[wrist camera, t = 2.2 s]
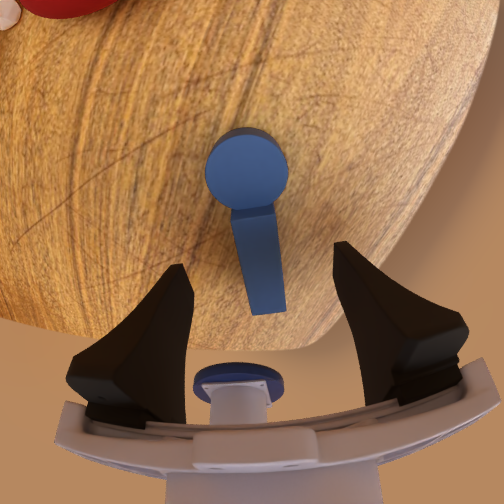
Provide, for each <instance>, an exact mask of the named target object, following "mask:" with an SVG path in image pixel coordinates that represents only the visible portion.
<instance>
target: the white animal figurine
mask: <svg viewBox="0 0 504 504" xmlns="http://www.w3.org/2000/svg"><path fill="white" fill-rule="evenodd" d="M20 14H21V9H20V7H19V5H18V4H17V2H15V0H0V30H3V31H4V30H6V29H8V28H11V27H12V26H13V25H14V24H16V23H17V22H18V20H19V18H20Z"/></svg>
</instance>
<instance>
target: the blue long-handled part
mask: <svg viewBox="0 0 504 504" xmlns="http://www.w3.org/2000/svg"><path fill="white" fill-rule="evenodd" d="M205 179H206V183H207V186H208V188H209V190H210V192H211V193H212V195H213V196H214V197H215V198H216V199H217V200H218V201H219V202H220V203H222V204H223V205H225V206H227V207H229V208H232V209H231V219H230V222H231V226H232V231H233V235H234V240H235V244H236V248H237V253H238V257H239V261H240V266H241V270H242V274H243V279H244V283H245V287H246V291H247V296H248V300H249V304H250V308H251V312H252V315H253V316H254V315H263V314H271V313H279V312H286V300H285V291H284V281H283V272H282V263H281V254H280V245H279V236H278V228H277V220H276V213H275V208H274V203H273V202H274V201H275V200H276V199H277V198H278V197H279V196H280V195H281V193H282V192H283V190H284V188H285V186H286V183H287V179H288V166H287V162H286V159H285V157H284V155H283V153H282V151H281V149H280V147H279V145H278V143H277V142H276V141H275V140H274V138H273V137H271V136H270V135H269V134H267V133H266V132H264V131H262V130H259V129H255V128H238V129H234V130H232V131H229V132H228V133H226V134H224V135H223V136H222V137H221V138H220V139H219V140H218V141H217V142H216V143H215V145H214V147H213V149H212V151H211V153H210V155H209V157H208V160H207V163H206V167H205Z"/></svg>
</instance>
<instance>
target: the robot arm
mask: <svg viewBox="0 0 504 504" xmlns="http://www.w3.org/2000/svg"><path fill="white" fill-rule="evenodd" d="M333 279H334V283H335V287H336V291H337V294H338V297H339V300H340V302H341V305H342V307H343V310H344V313H345V315H346V318H347V320H348V323H349V326H350V328H351V331H352V334H353V338H354V342H355V346H356V350H357V354H358V360H359V365H360V370H361V376H362V382H363V389H364V397H365V407H361V408H357V409H353V410H349V411H344V412H339V413H334V414H329V415H324V416H317V417H311V418H304V419H297V420H289V421H280V422H270V423H267V409H266V408H270V407H272V402H271V399H270V395H269V391H268V388H267V384H266V381H265V380H264V379H257V380H245V381H230V382H206V383H202V388H203V389H204V390H205V392H206V393H207V394H208V396H209V397H210V398H211V410H210V425H193V424H186V413H185V357H186V350H187V344H188V339H189V333H190V328H191V323H192V317H193V311H194V291H193V289H192V286H191V284H190V281H189V279H188V276H187V274H186V271H185V269H184V266H183V263H181V264H173V265H170V266H169V268H168V269H167V270H166V271H165V272H164V274H163V275H162V276H161V278H160V279H159V280H158V281H157V283H156V284H155V285H154V286H153V288H152V289H151V290H150V291H149V293H148V294H147V295H146V296H145V297H144V298H143V300H142V301H141V302H140V303H139V304H138V305H137V307H136V308H135V309H134V310H133V311H132V312H131V313H130V314H129V315H128V316H127V317H126V318H125V319H124V320H123V321H122V322H121V323H120V324H119V325H117V326H116V327H115V328H114V329H113V330H111V331H110V332H109V333H108V334H107V335H105V336H104V337H103V338H101V339H100V340H99V341H97V342H96V343H94V344H93V345H92V346H90V347H89V348H87V349H85V350H84V351H82V352H80V353H79V354H77V355H75V356H74V357H73V359H72V362H71V364H70V367H69V370H68V372H67V375H66V382H67V383H68V385H69V386H70V387H71V388H72V389H73V390H74V391H76V392H77V393H78V394H79V395H81V396H82V397H83V398H84V399H86V400H87V401H88V405H87V407H86V406H84V405H82V404H78V403H74V402H70V401H65V403H64V406H63V410H62V414H61V417H60V421H59V425H58V428H57V432H56V436H55V441H54V443H55V444H56V445H58V446H60V447H62V448H64V449H66V450H68V451H70V452H72V453H74V454H77V455H78V456H81V457H83V458H85V459H88V460H91V461H94V462H97V463H100V464H103V465H107V466H110V467H113V468H117V469H120V470H124V471H128V472H132V473H136V474H141V475H145V476H149V477H154V478H159V479H165V480H167V481H166V498H165V504H383V498H382V491H381V485H380V479H379V473H378V467H377V466H379V465H382V464H385V463H387V462H391V461H394V460H396V459H399V458H402V457H404V456H407V455H410V454H412V453H414V452H417V451H419V450H422V449H424V448H426V447H428V446H431V445H433V444H435V443H437V442H439V441H441V440H443V439H445V438H447V437H449V436H451V435H453V434H455V433H457V432H459V431H461V430H463V429H465V428H466V427H468V426H470V425H472V424H473V423H475V422H476V421H478V420H479V419H481V418H482V417H483V416H484V415H486V414H487V413H489V412H490V411H491V410H492V409H494V408H495V407H496V406H497V405H498V404H500V403H501V399H500V396H499V393H498V391H497V388H496V386H495V383H494V381H493V379H492V377H491V375H490V372H489V370H488V367H487V365H486V363H485V361H484V359H483V358H479V359H477V360H475V361H473V362H471V363H469V364H467V365H465V366H463V367H462V368H460V369H459V368H458V365H457V364H458V363H459V358H458V356H457V353H458V352H459V350H460V349H461V347H462V346H463V344H464V343H465V341H466V340H467V338H468V335H469V329H468V327H467V325H466V323H465V322H464V320H463V318H462V316H461V315H460V313H459V312H456V311H453V310H450V309H448V308H445V307H442V306H439V305H437V304H435V303H433V302H430V301H428V300H426V299H424V298H422V297H420V296H418V295H417V294H415V293H413V292H411V291H409V290H408V289H406V288H404V287H403V286H401V285H400V284H398V283H397V282H395V281H394V280H392V279H391V278H389V277H388V276H387V275H385V274H384V273H383V272H382V271H380V270H379V269H378V268H376V267H375V266H374V265H373V264H372V263H371V262H369V261H368V260H367V259H366V258H365V257H364V256H362V255H361V254H360V253H359V252H358V251H357V250H356V249H355V248H354V247H352V246H351V245H350V244H349V243H348V242H347V241H342V242H335V243H334V255H333Z"/></svg>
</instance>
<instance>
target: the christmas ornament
mask: <svg viewBox="0 0 504 504" xmlns="http://www.w3.org/2000/svg"><path fill="white" fill-rule="evenodd" d="M19 1H20V3H21V4H22V5H23V6H24V7H25V8H26V9H27V10H28V11H30V12H31V13H33V14H35V15H38V16H41V17H44V18H49V19H68V18H75V17H80V16H83V15H87V14H90V13H93V12H96V11H99V10H101V9H103V8H105V7H107V6H109V5H111V4H113V3H115V2H116V1H118V0H19Z"/></svg>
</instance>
